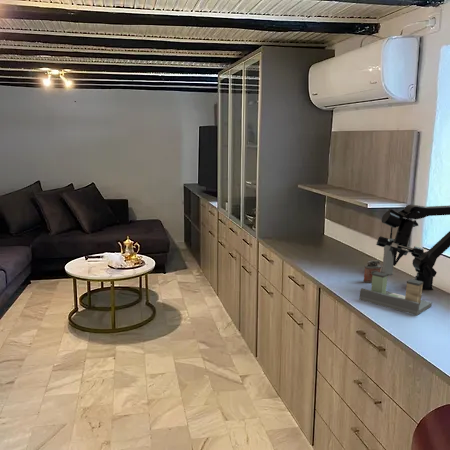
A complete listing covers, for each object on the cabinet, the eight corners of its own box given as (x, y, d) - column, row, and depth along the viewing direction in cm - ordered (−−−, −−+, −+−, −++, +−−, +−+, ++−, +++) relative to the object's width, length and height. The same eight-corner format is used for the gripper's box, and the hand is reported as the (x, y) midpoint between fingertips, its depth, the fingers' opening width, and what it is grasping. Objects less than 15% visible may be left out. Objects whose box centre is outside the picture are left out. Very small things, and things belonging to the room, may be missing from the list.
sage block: (375, 292, 192) (377, 271, 191) (385, 294, 189) (388, 273, 187) (370, 294, 189) (372, 273, 188) (381, 297, 186) (383, 275, 184)
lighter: (365, 283, 210) (367, 261, 209) (361, 281, 213) (363, 260, 212) (381, 282, 212) (383, 261, 211) (377, 280, 216) (379, 259, 214)
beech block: (408, 300, 183) (411, 279, 181) (420, 303, 180) (423, 281, 178) (404, 303, 180) (406, 281, 178) (416, 306, 177) (419, 283, 175)
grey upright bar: (388, 272, 231) (393, 222, 226) (392, 274, 226) (397, 224, 221) (381, 271, 231) (386, 222, 226) (384, 274, 226) (389, 224, 221)
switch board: (376, 291, 198) (377, 281, 197) (431, 306, 183) (432, 295, 182) (359, 299, 187) (360, 289, 186) (416, 315, 172) (418, 303, 171)
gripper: (422, 243, 206) (413, 276, 202) (379, 231, 211) (370, 263, 207) (427, 236, 195) (418, 270, 192) (383, 223, 201) (372, 256, 197)
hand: (394, 265), depth 197 cm, fingers closed
